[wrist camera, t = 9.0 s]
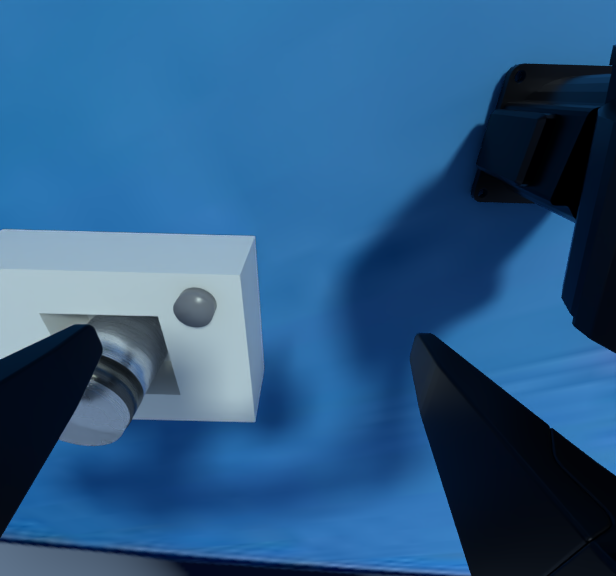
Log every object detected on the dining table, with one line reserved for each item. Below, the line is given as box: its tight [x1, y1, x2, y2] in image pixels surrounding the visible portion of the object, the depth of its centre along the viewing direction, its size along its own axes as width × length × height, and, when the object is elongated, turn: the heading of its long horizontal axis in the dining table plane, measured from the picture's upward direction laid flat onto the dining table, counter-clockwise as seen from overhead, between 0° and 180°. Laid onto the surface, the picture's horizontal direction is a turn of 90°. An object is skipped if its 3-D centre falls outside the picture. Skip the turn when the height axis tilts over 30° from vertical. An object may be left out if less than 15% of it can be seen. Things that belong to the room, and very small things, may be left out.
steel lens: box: [59, 315, 168, 446], centre depth 18 cm, size 5×5×7 cm
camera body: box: [0, 229, 264, 422], centre depth 21 cm, size 16×12×6 cm
